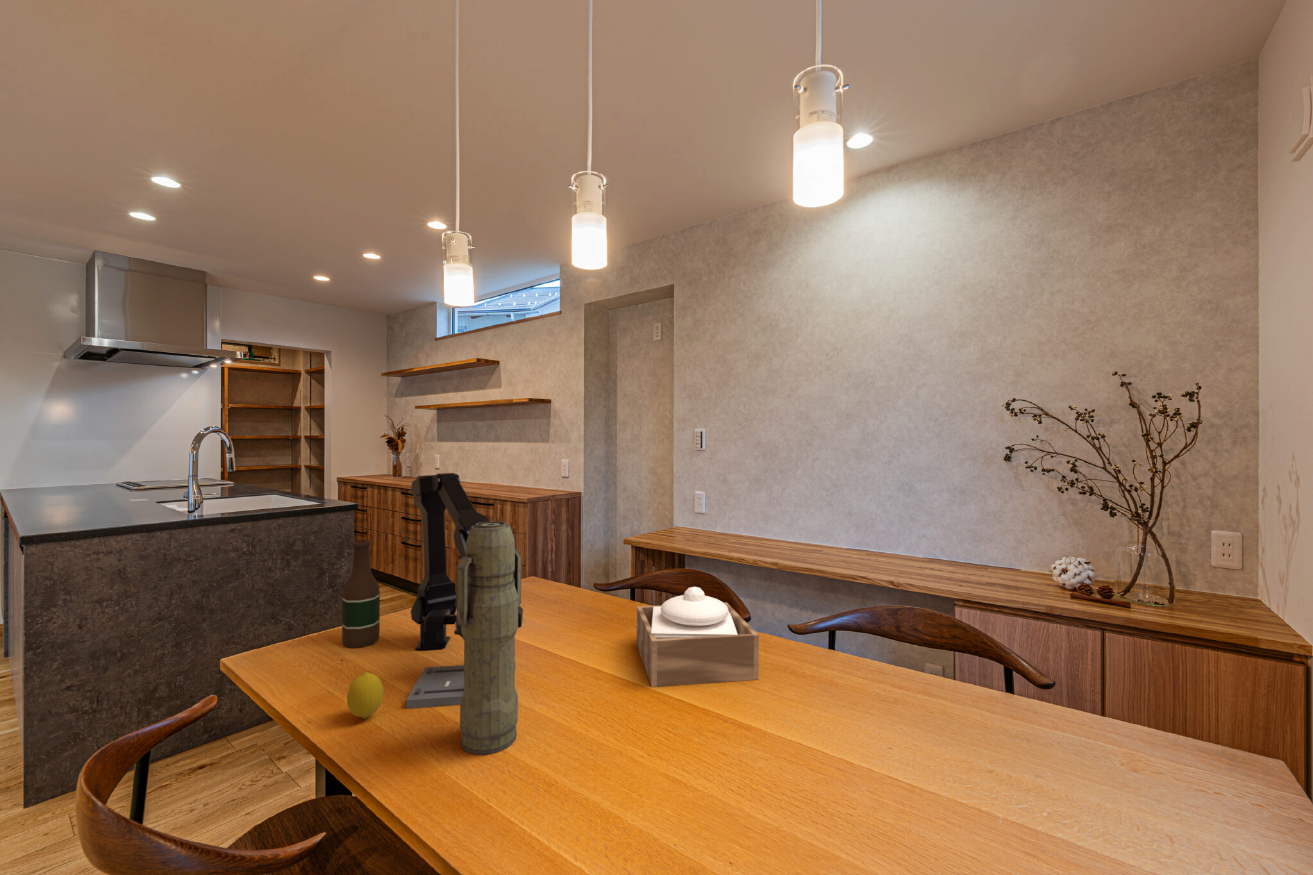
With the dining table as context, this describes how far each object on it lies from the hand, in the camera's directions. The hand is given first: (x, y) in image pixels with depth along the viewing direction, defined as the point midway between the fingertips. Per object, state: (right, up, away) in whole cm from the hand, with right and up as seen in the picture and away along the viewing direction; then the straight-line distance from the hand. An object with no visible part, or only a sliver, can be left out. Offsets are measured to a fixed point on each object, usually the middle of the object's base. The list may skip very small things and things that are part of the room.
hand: (474, 660), depth 112 cm
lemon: (-13, -4, -17) cm, 22 cm away
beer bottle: (-33, -3, +18) cm, 37 cm away
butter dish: (+45, -4, +9) cm, 46 cm away
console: (0, -3, -5) cm, 6 cm away
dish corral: (+45, -4, +9) cm, 46 cm away
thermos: (+10, -4, -23) cm, 25 cm away
